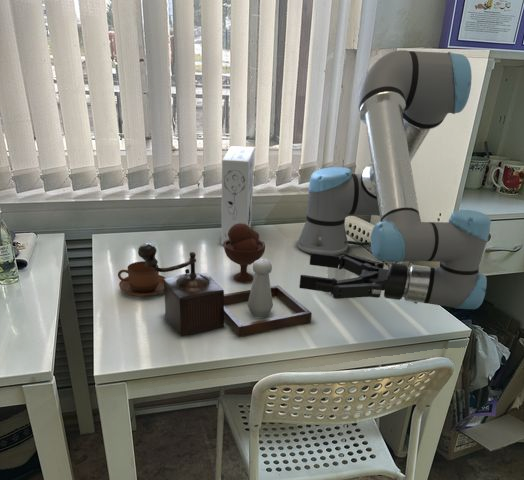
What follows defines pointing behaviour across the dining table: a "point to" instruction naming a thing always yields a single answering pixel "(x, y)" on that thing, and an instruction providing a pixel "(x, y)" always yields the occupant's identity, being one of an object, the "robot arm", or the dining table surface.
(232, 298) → the tray
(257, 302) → the salt shaker
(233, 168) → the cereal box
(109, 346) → the dining table surface
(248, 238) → the ice cream bowl
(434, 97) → the robot arm
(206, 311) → the manual coffee grinder
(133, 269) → the cup and saucer
